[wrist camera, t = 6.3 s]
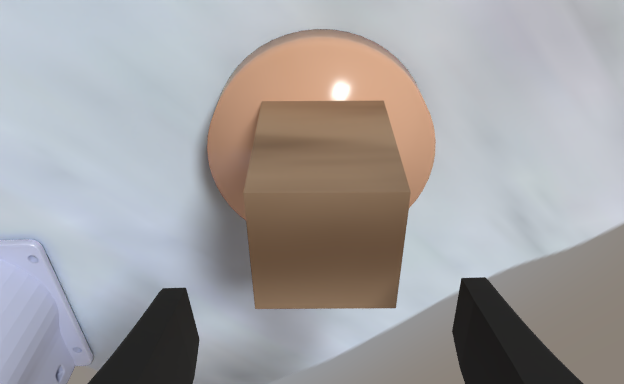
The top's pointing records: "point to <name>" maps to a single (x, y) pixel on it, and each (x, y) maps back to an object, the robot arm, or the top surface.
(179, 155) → the top surface
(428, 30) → the top surface
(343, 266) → the walnut block
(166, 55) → the top surface
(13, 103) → the top surface
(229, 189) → the tan flattened disc
